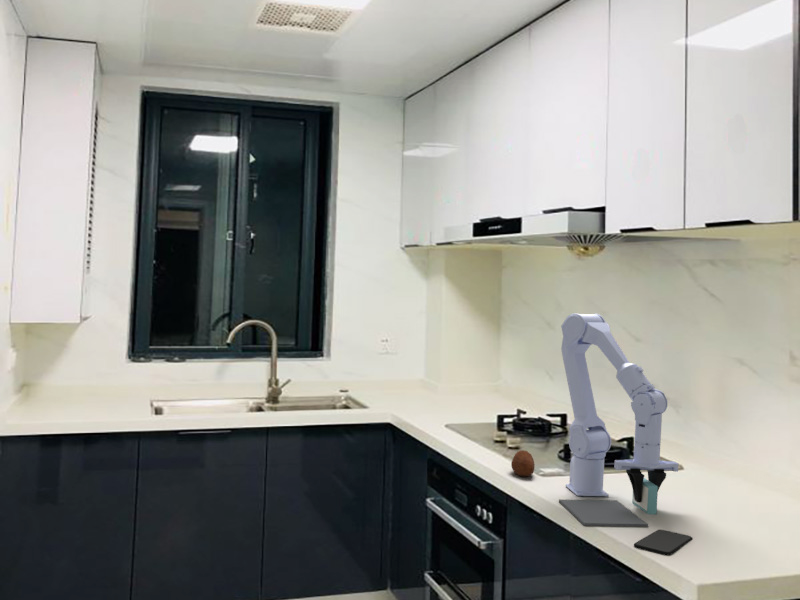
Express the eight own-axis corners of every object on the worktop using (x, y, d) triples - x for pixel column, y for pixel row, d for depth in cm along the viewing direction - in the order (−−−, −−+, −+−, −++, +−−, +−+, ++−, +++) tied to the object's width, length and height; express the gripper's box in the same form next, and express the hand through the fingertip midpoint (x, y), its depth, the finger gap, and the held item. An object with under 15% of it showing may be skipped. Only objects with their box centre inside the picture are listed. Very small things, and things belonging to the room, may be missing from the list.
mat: (558, 502, 184) (559, 499, 184) (616, 503, 185) (616, 500, 185) (584, 525, 166) (584, 523, 166) (648, 526, 167) (648, 524, 167)
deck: (632, 503, 186) (633, 476, 186) (640, 503, 186) (641, 476, 186) (647, 514, 177) (649, 486, 177) (656, 514, 177) (657, 486, 177)
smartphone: (694, 536, 161) (669, 553, 149) (694, 541, 161) (669, 558, 149) (658, 528, 165) (631, 543, 154) (658, 532, 165) (631, 548, 154)
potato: (517, 480, 203) (518, 455, 203) (506, 469, 215) (507, 446, 215) (539, 480, 204) (541, 455, 204) (527, 469, 216) (528, 446, 215)
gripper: (623, 445, 177) (620, 505, 177) (685, 447, 178) (682, 506, 178) (612, 439, 184) (609, 497, 184) (671, 440, 185) (668, 498, 185)
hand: (644, 501), depth 182 cm, fingers open, 3 cm apart
